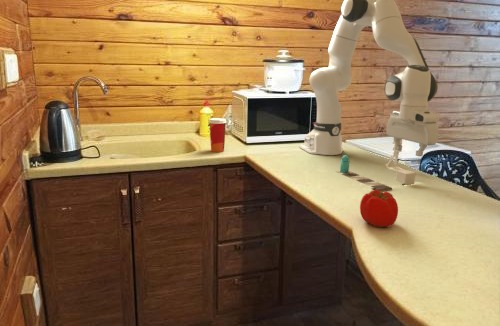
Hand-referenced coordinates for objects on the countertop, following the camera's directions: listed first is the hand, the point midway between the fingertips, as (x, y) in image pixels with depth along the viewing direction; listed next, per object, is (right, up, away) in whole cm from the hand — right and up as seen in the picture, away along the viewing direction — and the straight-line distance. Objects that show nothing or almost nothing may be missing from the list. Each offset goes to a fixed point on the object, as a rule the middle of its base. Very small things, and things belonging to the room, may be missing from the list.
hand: (408, 153), depth 144 cm
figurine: (+2, -7, +20) cm, 21 cm away
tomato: (-21, -20, -34) cm, 44 cm away
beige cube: (0, -11, +3) cm, 11 cm away
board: (-15, -10, +4) cm, 19 cm away
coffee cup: (-71, +2, +48) cm, 86 cm away
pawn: (-20, -7, +13) cm, 24 cm away
